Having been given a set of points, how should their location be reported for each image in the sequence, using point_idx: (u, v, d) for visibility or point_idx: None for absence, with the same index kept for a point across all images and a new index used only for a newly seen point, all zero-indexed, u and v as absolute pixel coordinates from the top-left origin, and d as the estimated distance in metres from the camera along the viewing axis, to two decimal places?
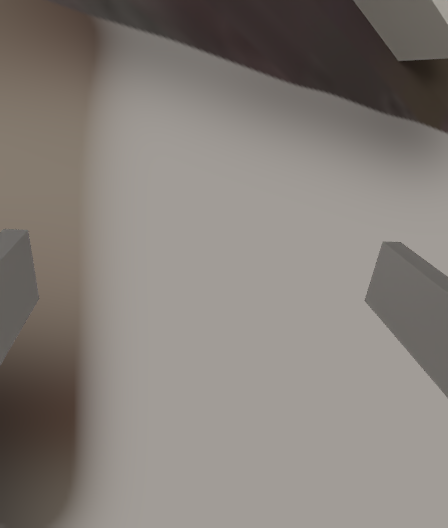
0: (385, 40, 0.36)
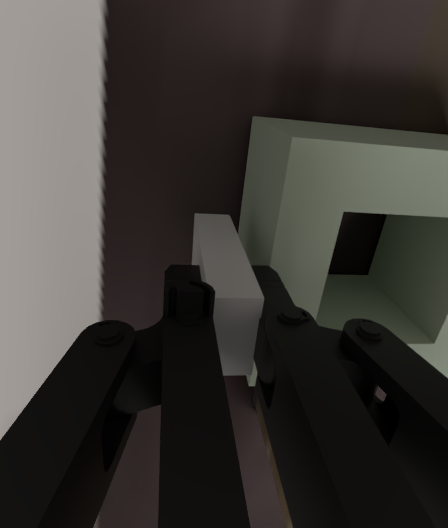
0: None
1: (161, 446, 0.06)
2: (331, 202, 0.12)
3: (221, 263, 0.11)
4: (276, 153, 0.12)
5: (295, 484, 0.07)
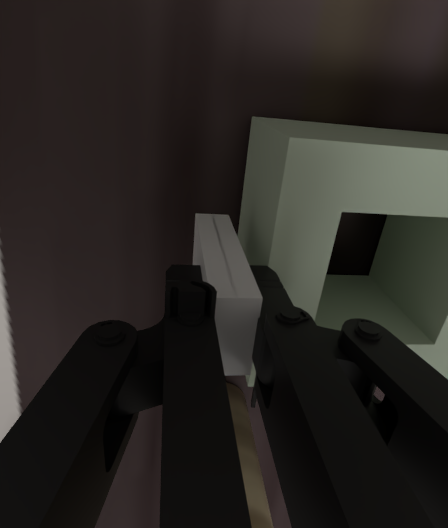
0: None
1: (163, 446, 0.06)
2: (329, 202, 0.12)
3: (222, 263, 0.11)
4: (274, 153, 0.12)
5: (294, 484, 0.07)
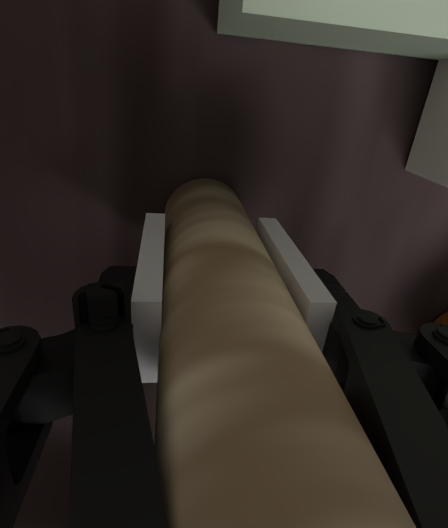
0: None
1: (72, 466, 0.05)
2: None
3: (156, 264, 0.11)
4: None
5: None
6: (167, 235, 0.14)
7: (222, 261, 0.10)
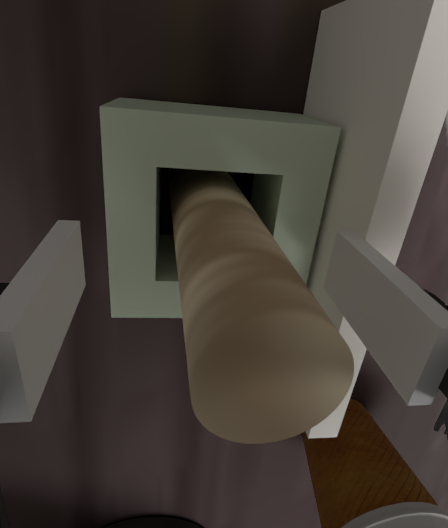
0: None
1: None
2: (144, 159, 0.15)
3: (33, 283, 0.09)
4: None
5: None
6: (176, 201, 0.18)
7: (222, 209, 0.14)
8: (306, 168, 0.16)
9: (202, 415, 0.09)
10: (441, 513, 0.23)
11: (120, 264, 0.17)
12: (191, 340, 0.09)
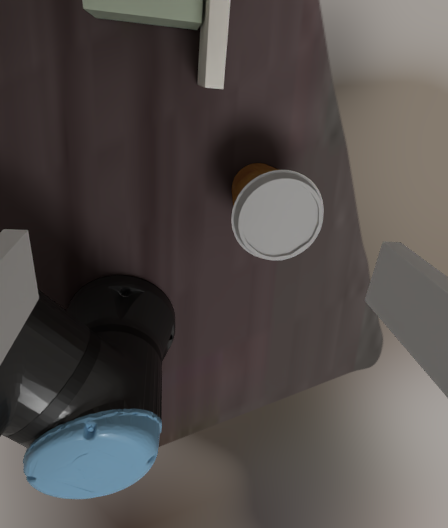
0: None
1: None
2: None
3: None
4: None
5: None
6: None
7: None
8: None
9: None
10: (303, 175, 0.36)
11: None
12: None
